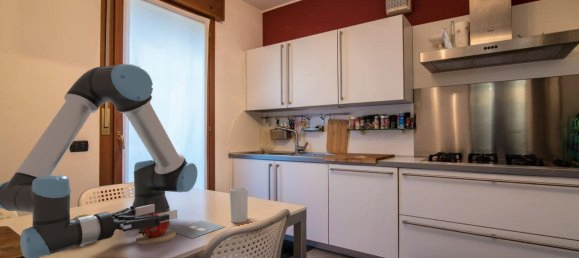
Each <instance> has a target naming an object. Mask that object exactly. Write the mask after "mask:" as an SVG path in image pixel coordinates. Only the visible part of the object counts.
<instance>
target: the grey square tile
mask: <svg viewBox="0 0 579 258" xmlns="http://www.w3.org/2000/svg"><path fill="white" fill-rule="evenodd" d="M225 227H226V226H225V225H221V224H217V223H213V222H209V221H205V220H202V219H199V220H197V221H194V222H191V223H186V224H184V225H181V226H177V227H173V228H171V229H169V230H173V231H175V233H176V235H179V236H183V237H186V238H189V239H195V238H198V237H201V236H205V235H206V234H209V233H213V232H216V231H218V230H220V229H223V228H225Z"/></svg>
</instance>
